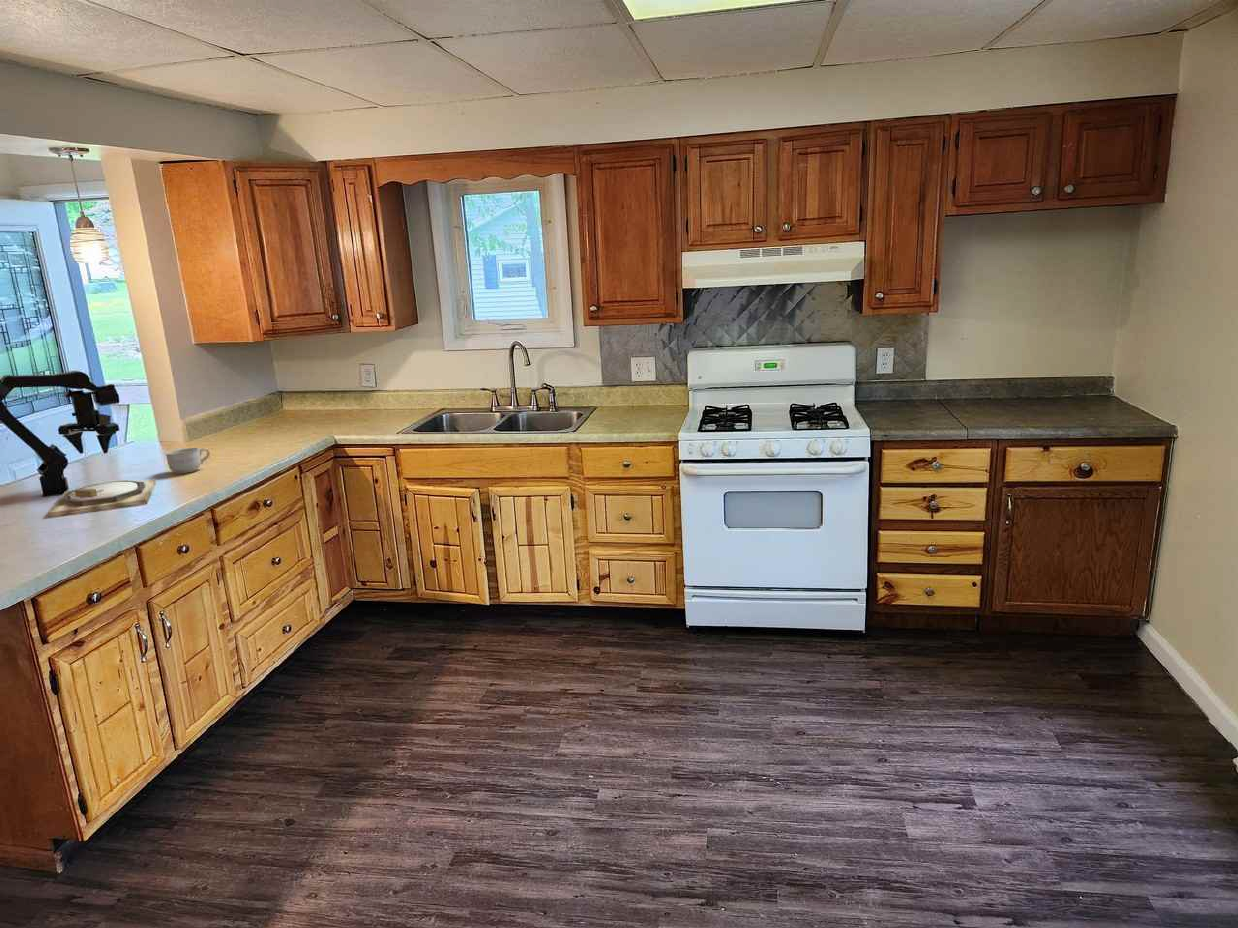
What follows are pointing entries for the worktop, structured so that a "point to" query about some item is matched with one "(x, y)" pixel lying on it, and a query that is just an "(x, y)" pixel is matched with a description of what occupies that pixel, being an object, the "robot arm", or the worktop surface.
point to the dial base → (103, 500)
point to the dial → (103, 490)
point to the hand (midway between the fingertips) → (93, 453)
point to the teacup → (186, 459)
